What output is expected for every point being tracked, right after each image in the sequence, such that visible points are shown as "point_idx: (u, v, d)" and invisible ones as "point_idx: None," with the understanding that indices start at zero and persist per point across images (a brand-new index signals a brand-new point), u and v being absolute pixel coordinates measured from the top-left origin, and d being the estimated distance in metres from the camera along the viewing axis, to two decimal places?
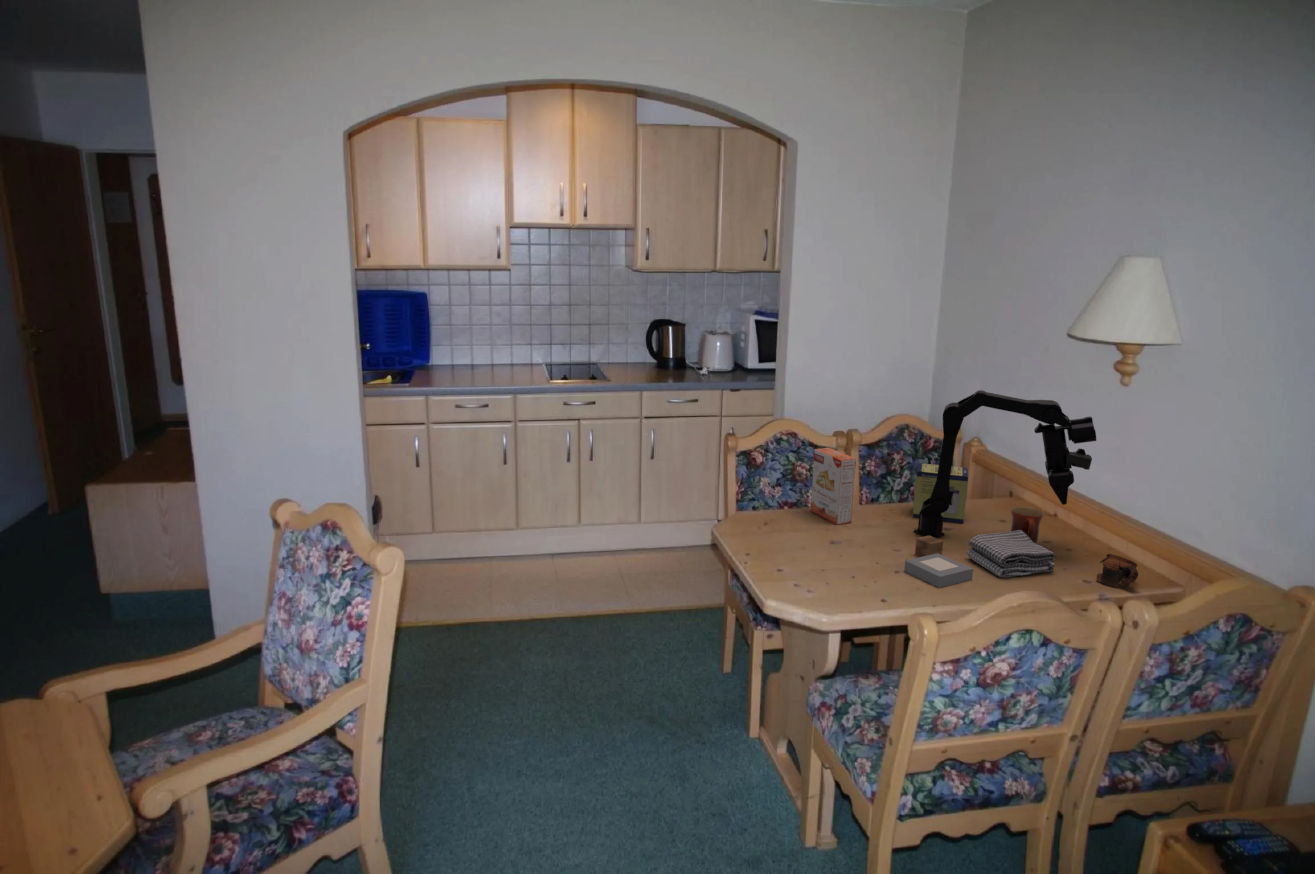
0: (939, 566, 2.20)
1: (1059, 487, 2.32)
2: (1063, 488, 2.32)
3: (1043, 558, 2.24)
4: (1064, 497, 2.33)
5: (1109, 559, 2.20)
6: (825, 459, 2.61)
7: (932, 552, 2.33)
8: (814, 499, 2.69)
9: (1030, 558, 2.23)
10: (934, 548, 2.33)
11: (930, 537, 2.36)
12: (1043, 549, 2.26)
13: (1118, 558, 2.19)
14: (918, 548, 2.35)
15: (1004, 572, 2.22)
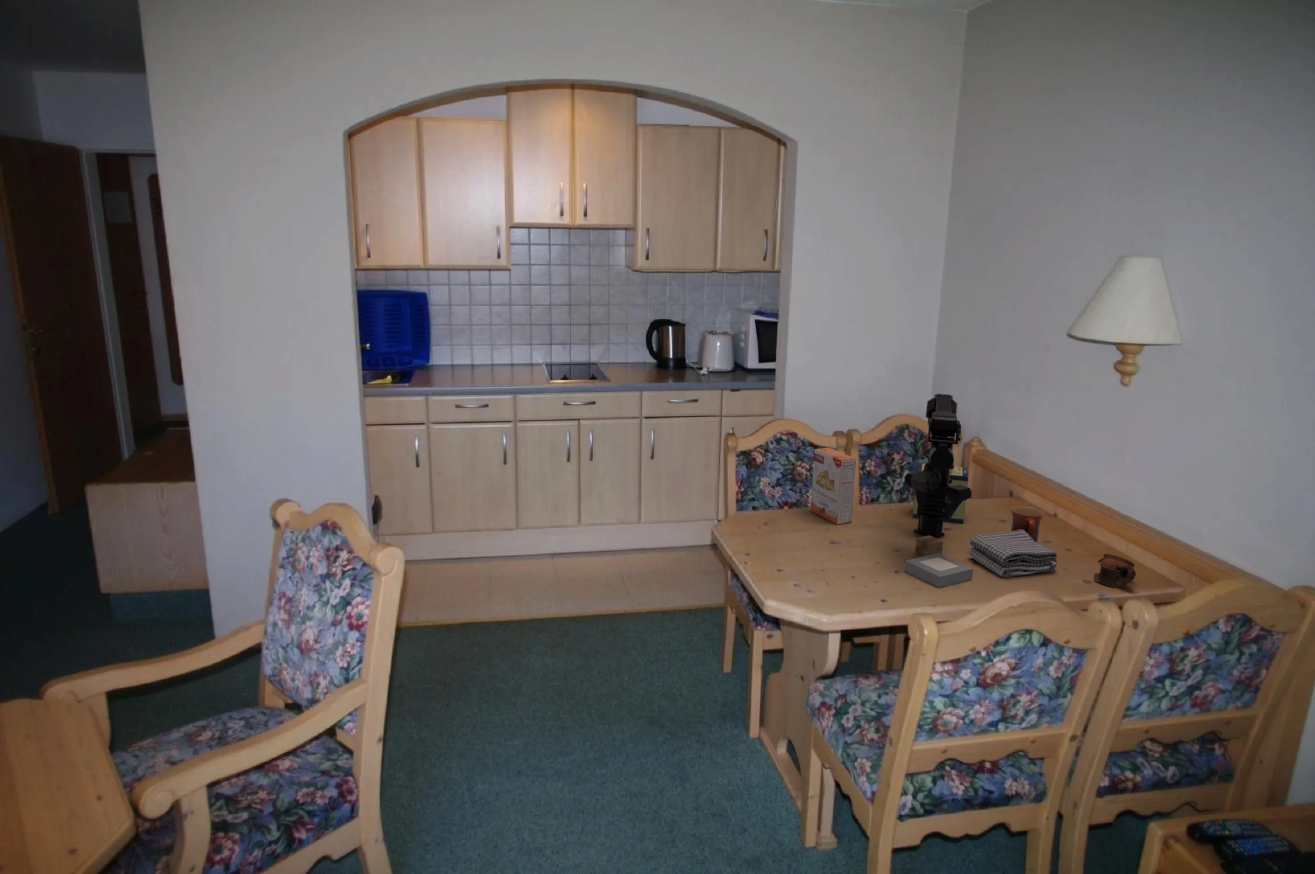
0: (939, 566, 2.20)
1: None
2: None
3: (1045, 558, 2.24)
4: None
5: (1106, 559, 2.20)
6: (825, 459, 2.61)
7: (932, 552, 2.33)
8: (814, 499, 2.69)
9: (1032, 557, 2.23)
10: (934, 548, 2.33)
11: (930, 537, 2.36)
12: (1045, 549, 2.27)
13: (1115, 557, 2.19)
14: (918, 548, 2.35)
15: (1006, 571, 2.22)
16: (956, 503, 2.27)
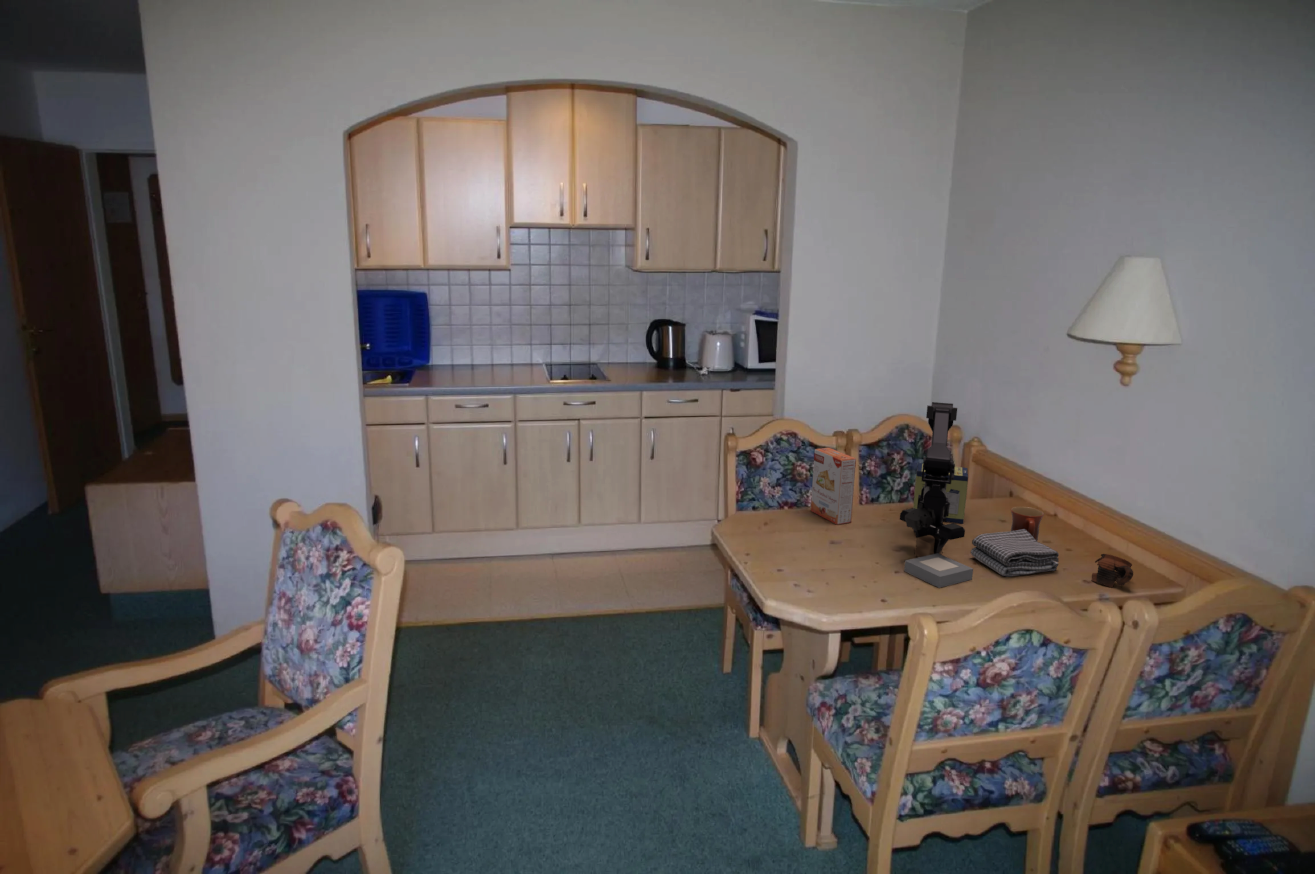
0: (939, 566, 2.20)
1: None
2: None
3: (1047, 557, 2.25)
4: None
5: (1104, 559, 2.20)
6: (825, 459, 2.61)
7: (932, 552, 2.32)
8: (814, 499, 2.69)
9: (1034, 557, 2.23)
10: None
11: (930, 537, 2.36)
12: (1047, 548, 2.27)
13: (1113, 557, 2.19)
14: (918, 548, 2.35)
15: (1008, 571, 2.23)
16: (944, 539, 2.31)
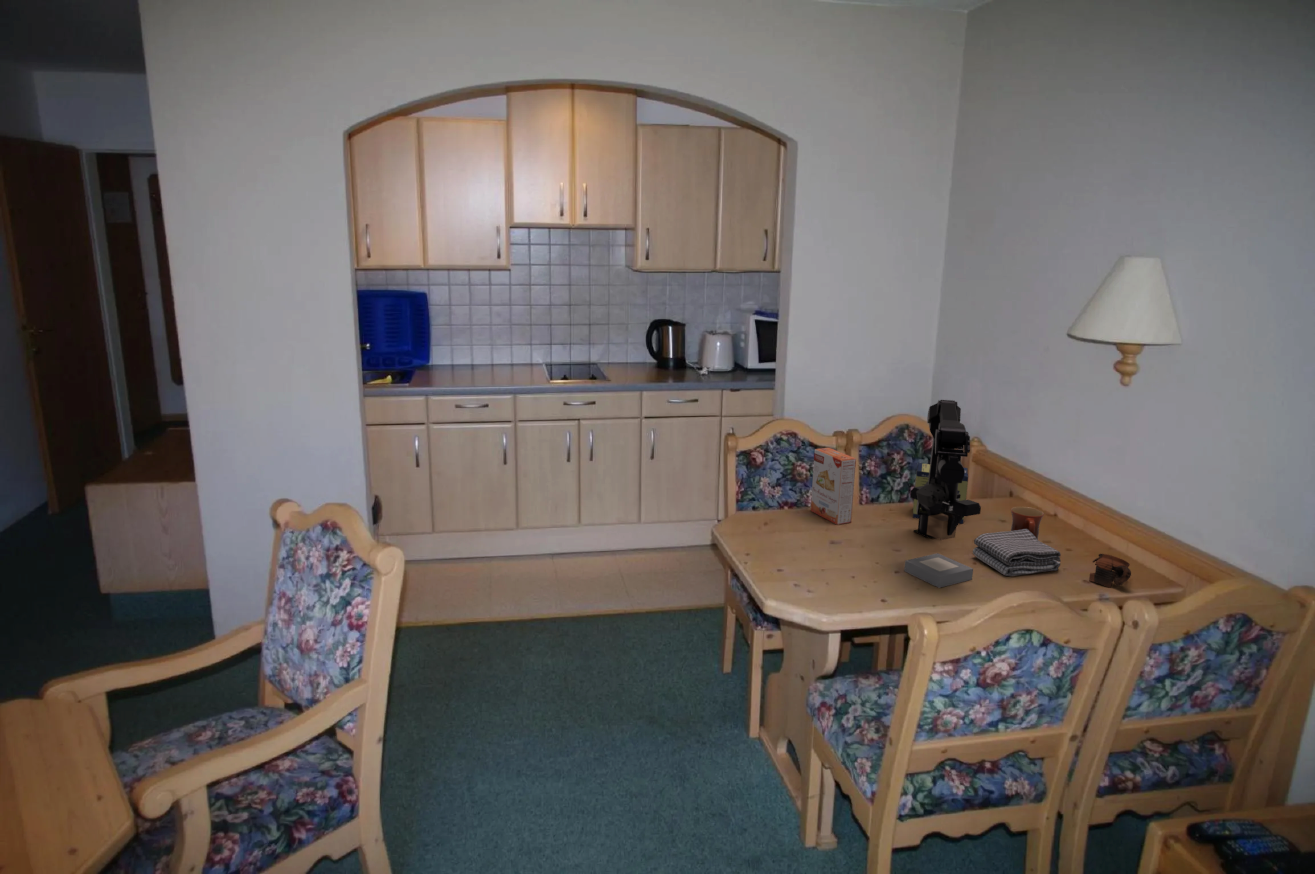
0: (939, 566, 2.20)
1: None
2: None
3: (1048, 557, 2.25)
4: None
5: (1102, 559, 2.20)
6: (825, 459, 2.61)
7: (945, 530, 2.18)
8: (814, 499, 2.69)
9: (1035, 557, 2.24)
10: (947, 526, 2.18)
11: (943, 515, 2.21)
12: (1049, 548, 2.27)
13: (1110, 557, 2.19)
14: (930, 527, 2.20)
15: (1009, 570, 2.23)
16: (958, 517, 2.16)
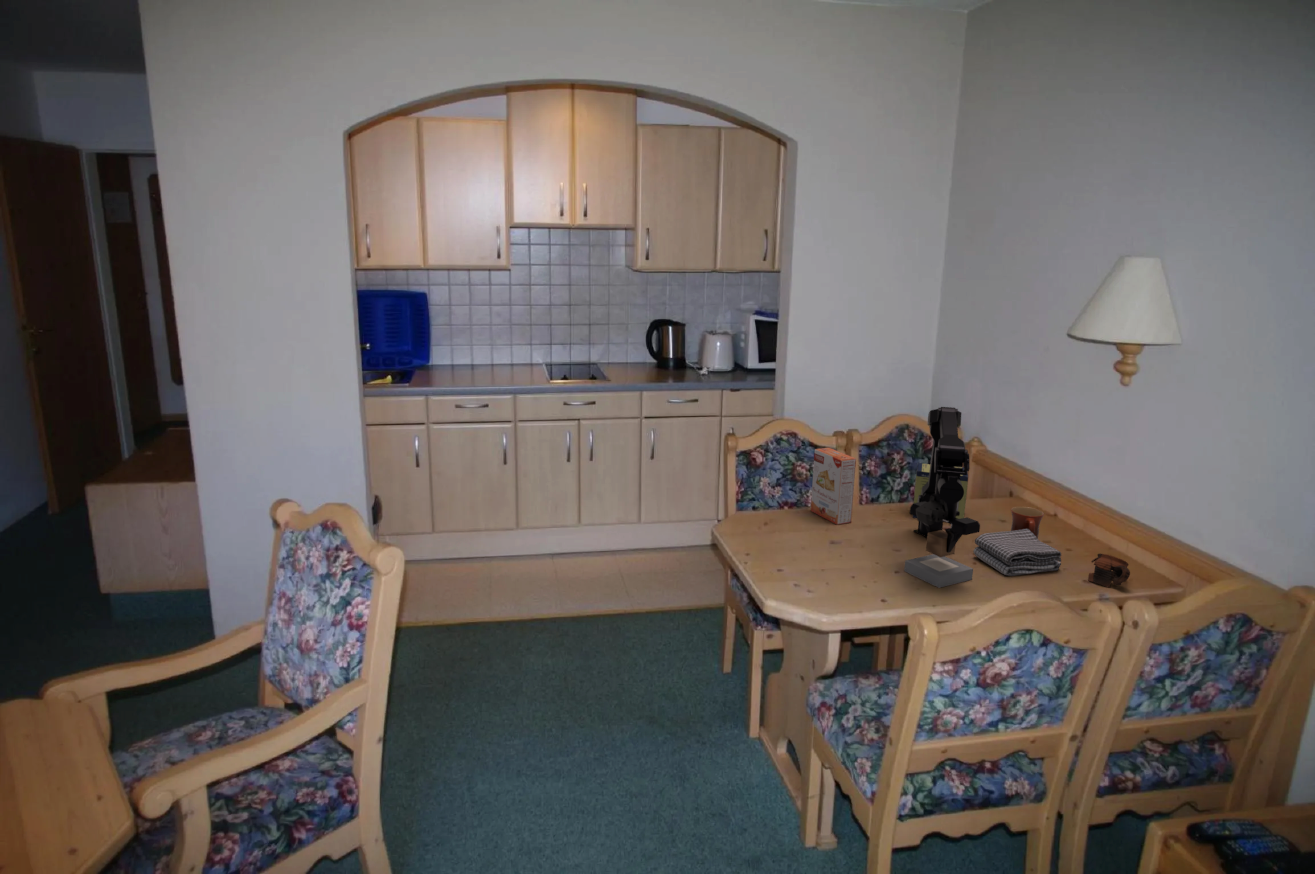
0: (939, 566, 2.20)
1: None
2: None
3: (1049, 557, 2.25)
4: None
5: (1100, 558, 2.20)
6: (825, 459, 2.61)
7: (944, 548, 2.18)
8: (814, 499, 2.69)
9: (1036, 557, 2.24)
10: None
11: (942, 532, 2.22)
12: (1049, 548, 2.28)
13: (1109, 557, 2.19)
14: (929, 544, 2.21)
15: (1010, 570, 2.23)
16: (957, 534, 2.17)
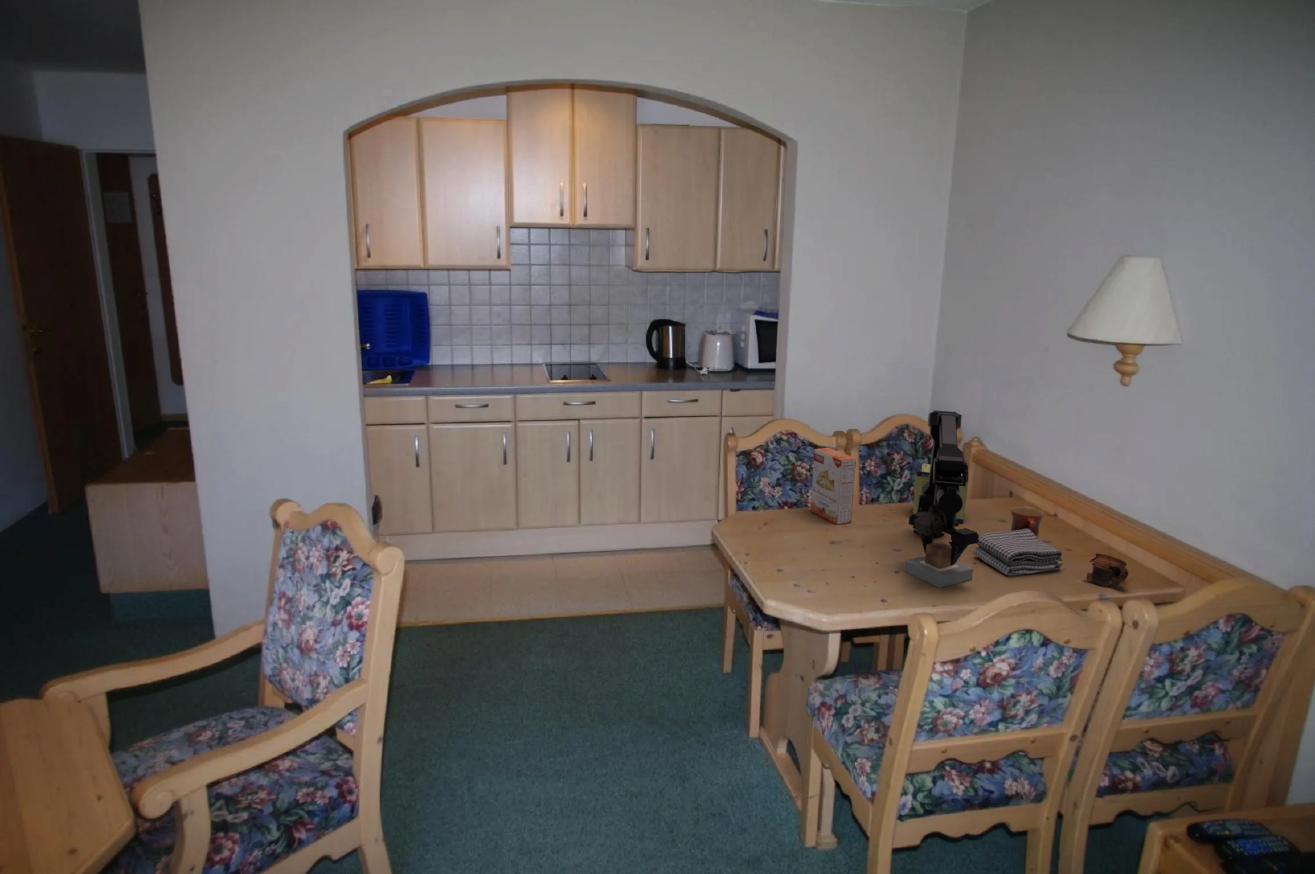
0: None
1: None
2: None
3: (1050, 556, 2.25)
4: None
5: (1099, 558, 2.21)
6: (825, 459, 2.61)
7: (943, 559, 2.19)
8: (814, 499, 2.69)
9: (1037, 556, 2.24)
10: (945, 555, 2.19)
11: (941, 543, 2.22)
12: (1050, 548, 2.28)
13: (1107, 557, 2.19)
14: (928, 555, 2.21)
15: (1011, 570, 2.23)
16: (961, 547, 2.16)
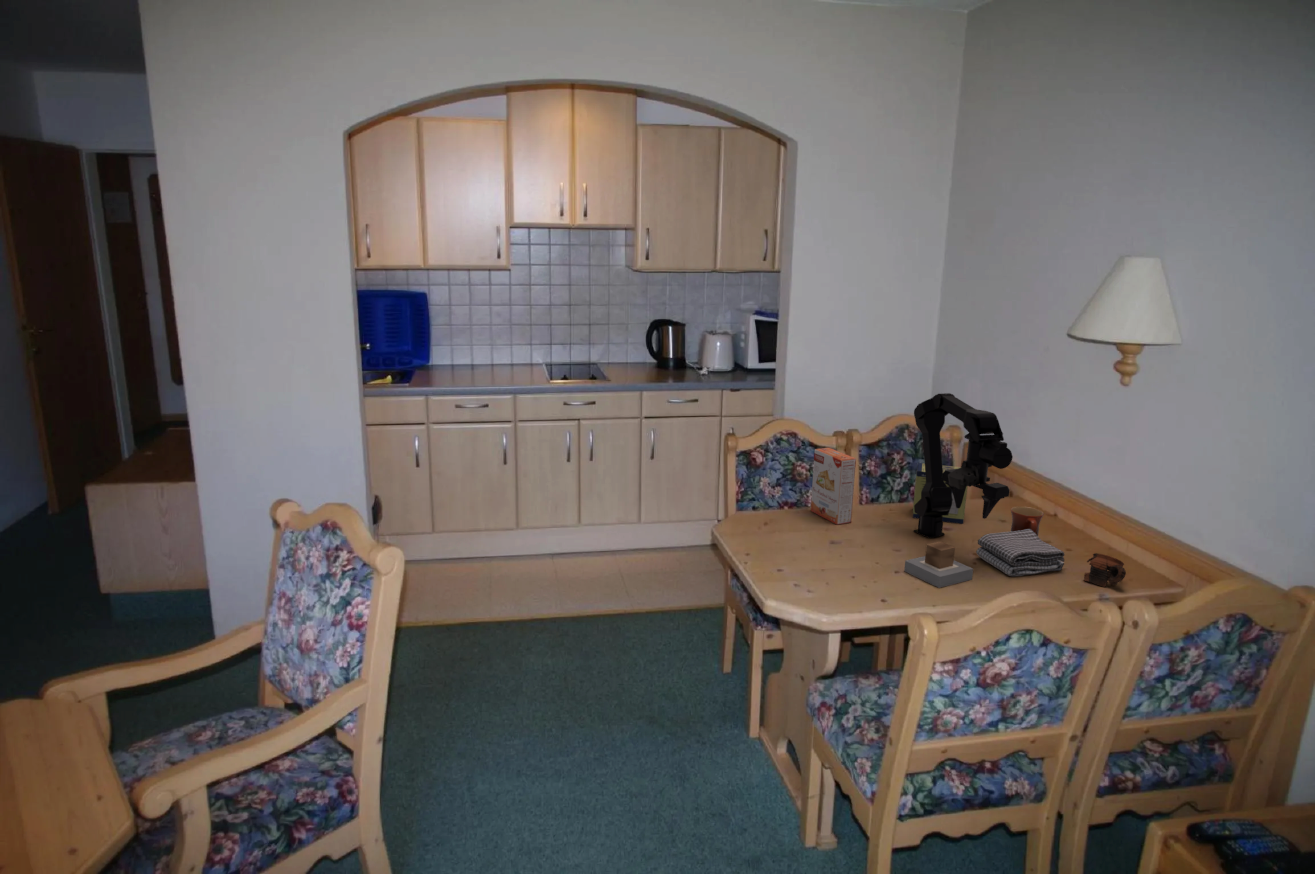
0: None
1: None
2: None
3: (1052, 557, 2.25)
4: None
5: (1096, 558, 2.21)
6: (825, 459, 2.61)
7: (943, 559, 2.19)
8: (814, 499, 2.69)
9: (1040, 557, 2.24)
10: (945, 555, 2.19)
11: (941, 543, 2.22)
12: (1052, 548, 2.27)
13: (1105, 557, 2.19)
14: (928, 555, 2.21)
15: (1014, 571, 2.23)
16: (993, 501, 2.27)
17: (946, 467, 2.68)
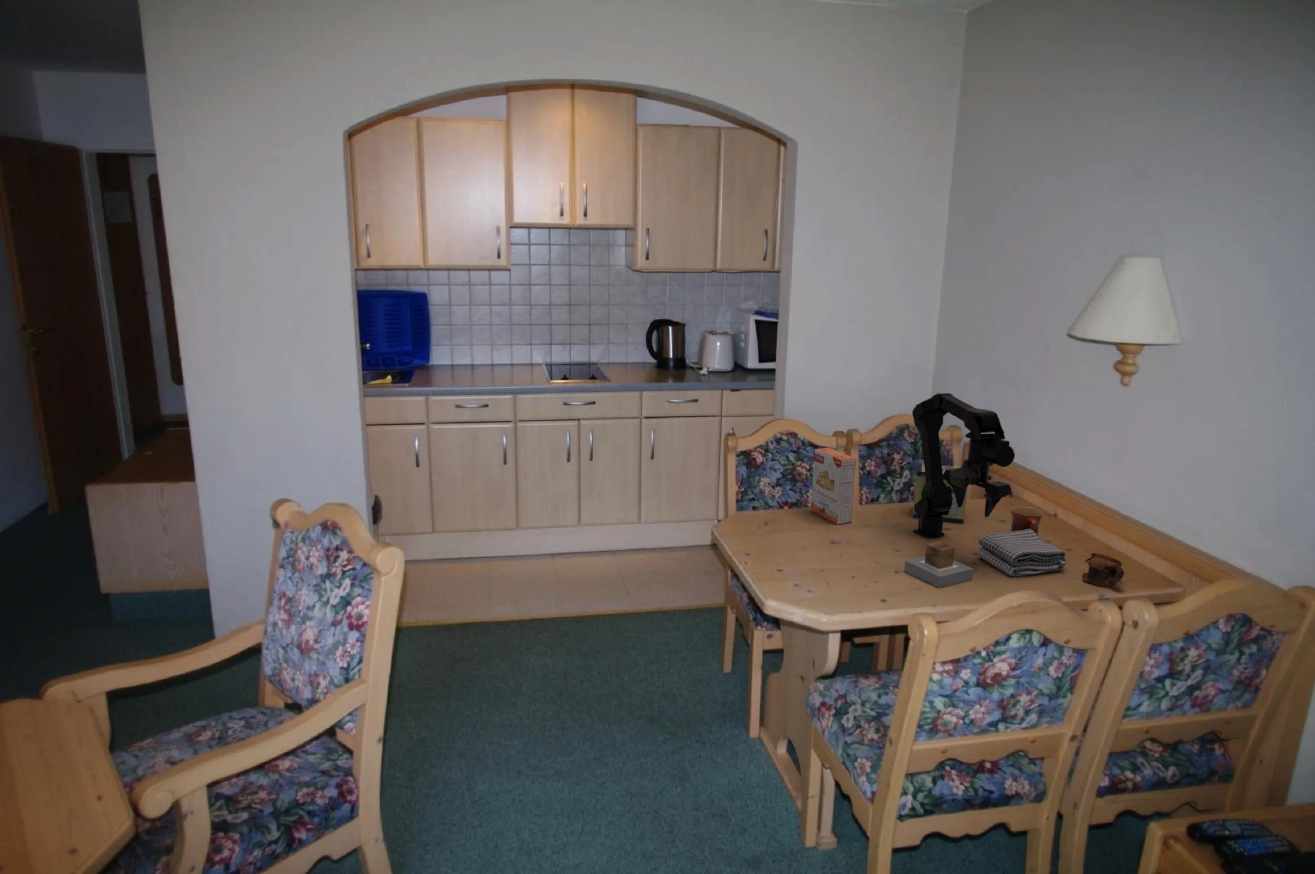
0: None
1: None
2: None
3: (1054, 557, 2.25)
4: None
5: (1094, 558, 2.21)
6: (825, 459, 2.61)
7: (943, 559, 2.19)
8: (814, 499, 2.69)
9: (1041, 557, 2.24)
10: (945, 555, 2.19)
11: (941, 543, 2.22)
12: (1053, 548, 2.27)
13: (1103, 557, 2.20)
14: (928, 555, 2.21)
15: (1015, 571, 2.23)
16: (995, 499, 2.27)
17: (946, 467, 2.68)
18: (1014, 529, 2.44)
